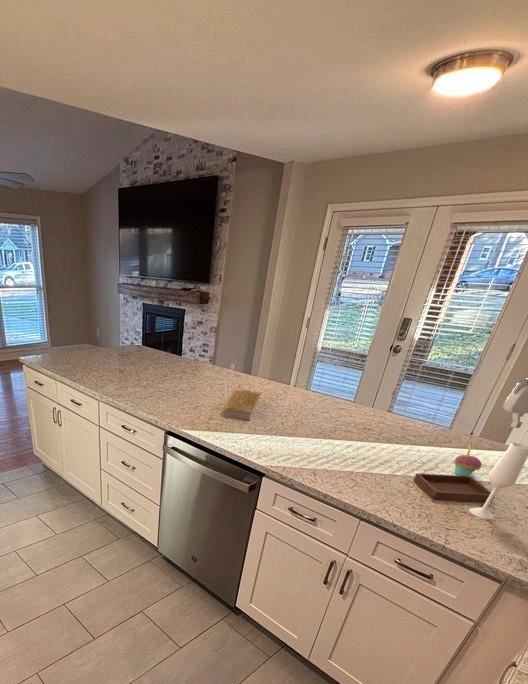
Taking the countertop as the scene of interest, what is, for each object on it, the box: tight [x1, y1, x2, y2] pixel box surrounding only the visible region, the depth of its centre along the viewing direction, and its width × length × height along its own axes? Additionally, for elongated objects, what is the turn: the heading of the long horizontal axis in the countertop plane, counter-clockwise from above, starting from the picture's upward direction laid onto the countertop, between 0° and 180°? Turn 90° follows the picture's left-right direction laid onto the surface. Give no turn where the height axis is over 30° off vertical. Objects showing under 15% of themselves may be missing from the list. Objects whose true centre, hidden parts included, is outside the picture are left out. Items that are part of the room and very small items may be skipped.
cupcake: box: [453, 444, 482, 476], centre depth 155 cm, size 9×8×12 cm
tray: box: [412, 472, 496, 504], centre depth 145 cm, size 20×14×3 cm
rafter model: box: [222, 389, 262, 421], centre depth 210 cm, size 35×14×6 cm, turn 160°
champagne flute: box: [469, 441, 528, 520], centre depth 128 cm, size 7×7×24 cm
